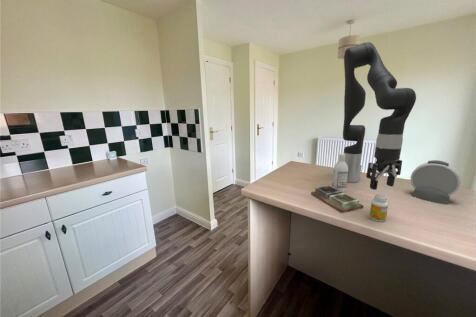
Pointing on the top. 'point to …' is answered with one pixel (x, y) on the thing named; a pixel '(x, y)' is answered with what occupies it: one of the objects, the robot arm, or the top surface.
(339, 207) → the socket board
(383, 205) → the supplement bottle
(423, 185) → the alarm clock
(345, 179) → the bath foam
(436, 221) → the top surface
